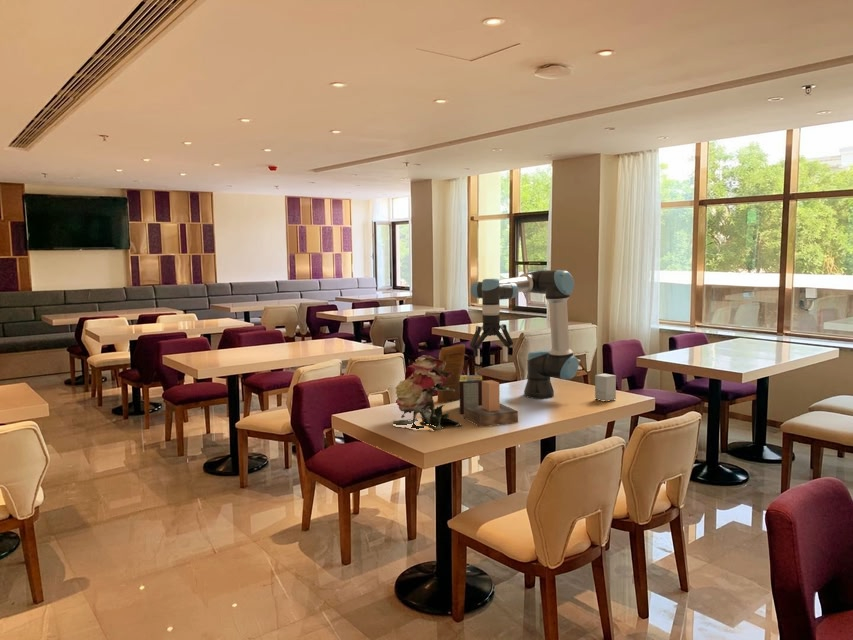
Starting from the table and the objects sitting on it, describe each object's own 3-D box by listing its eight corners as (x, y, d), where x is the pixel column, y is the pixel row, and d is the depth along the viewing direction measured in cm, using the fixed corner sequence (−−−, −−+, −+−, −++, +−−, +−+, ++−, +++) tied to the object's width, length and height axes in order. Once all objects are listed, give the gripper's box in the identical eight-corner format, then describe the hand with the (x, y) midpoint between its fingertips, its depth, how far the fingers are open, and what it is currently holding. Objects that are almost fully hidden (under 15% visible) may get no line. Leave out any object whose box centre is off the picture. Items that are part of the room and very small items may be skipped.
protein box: (482, 407, 301) (482, 374, 300) (482, 414, 286) (482, 381, 284) (460, 406, 302) (460, 374, 300) (459, 414, 287) (459, 380, 285)
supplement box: (616, 400, 311) (616, 375, 310) (606, 402, 307) (606, 376, 306) (604, 397, 317) (604, 373, 316) (594, 399, 313) (594, 374, 312)
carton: (499, 410, 272) (499, 382, 271) (489, 411, 271) (489, 383, 270) (492, 406, 279) (492, 380, 278) (481, 407, 277) (481, 381, 276)
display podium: (500, 414, 286) (500, 403, 285) (517, 422, 271) (517, 411, 270) (464, 418, 279) (464, 407, 279) (480, 426, 264) (480, 415, 264)
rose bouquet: (421, 414, 289) (420, 349, 286) (468, 425, 268) (468, 355, 265) (378, 424, 271) (376, 355, 269) (424, 437, 250) (423, 362, 247)
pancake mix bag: (469, 398, 319) (469, 343, 317) (441, 404, 308) (440, 347, 305) (460, 396, 325) (460, 342, 322) (432, 402, 313) (431, 346, 310)
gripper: (511, 312, 282) (512, 358, 284) (461, 315, 273) (462, 363, 275) (520, 313, 275) (520, 361, 277) (468, 316, 266) (469, 366, 268)
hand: (491, 362), depth 276 cm, fingers open, 13 cm apart
